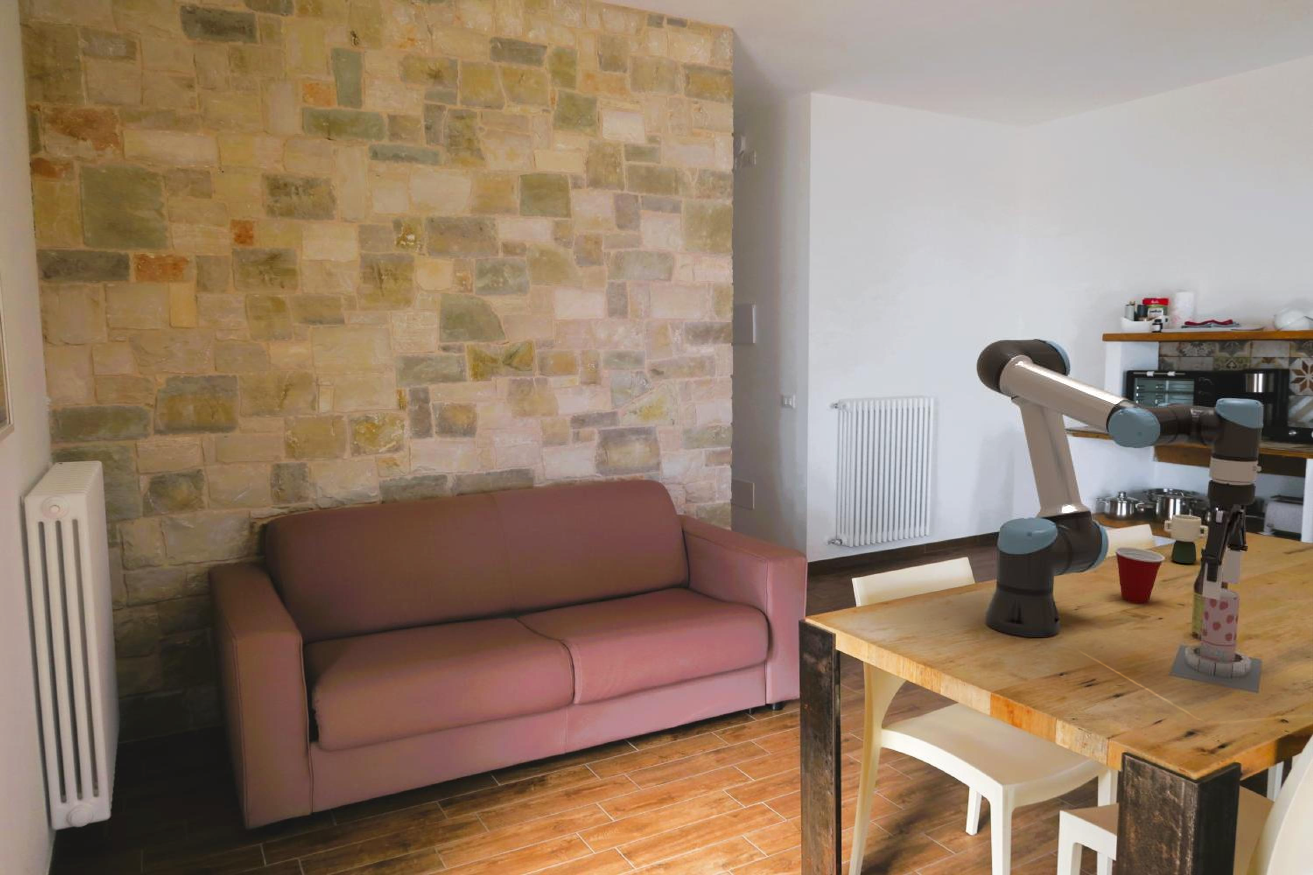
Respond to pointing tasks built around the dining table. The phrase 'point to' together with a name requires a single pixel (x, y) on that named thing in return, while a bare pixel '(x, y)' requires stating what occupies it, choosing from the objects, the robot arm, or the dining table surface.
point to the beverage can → (1220, 627)
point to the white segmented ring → (1217, 664)
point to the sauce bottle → (1200, 600)
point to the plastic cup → (1137, 572)
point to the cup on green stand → (1185, 536)
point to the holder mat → (1240, 683)
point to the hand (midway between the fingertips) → (1221, 590)
